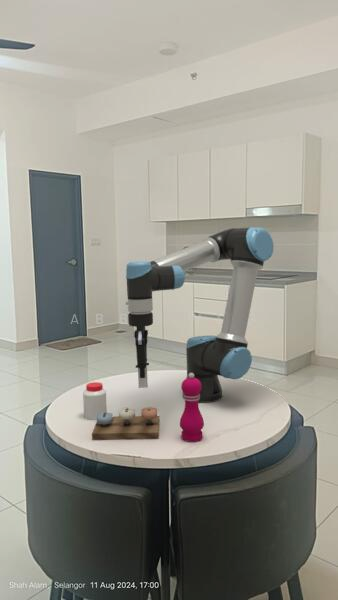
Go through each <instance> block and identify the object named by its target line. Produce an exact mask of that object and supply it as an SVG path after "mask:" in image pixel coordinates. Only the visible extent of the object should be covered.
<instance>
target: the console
mask: <svg viewBox="0 0 338 600" xmlns="http://www.w3.org/2000/svg"><path fill="white" fill-rule="evenodd" d="M91 432H92V433H91V440H92V441H115V440H117V441H118V440H122V441H123V440H124V441H125V440H160V439H159V438H160V415H157V417H156V418H154V419H152V423H151V424H148V423H147V419H144V418H142V417H141V415H135V417H134V418H132V419H129V424H125V420H124V419H120V418H119V416H113V422H112V423H109V424H107V426H103V424H98V423H97V421H96V422H95V425H94V428H93V430H92V431H91Z"/></svg>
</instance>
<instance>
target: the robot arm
mask: <svg viewBox="0 0 338 600" xmlns="http://www.w3.org/2000/svg"><path fill="white" fill-rule="evenodd" d="M273 252H274V240H273V237H271V233H270V232H269V231H268V230H266V229H265V228H263V227H255V226H251V227H240V228H239V227H237V228H235V227H234V228H229V229H225V230H222V231H220V232H217V233H215V234H212V235H209V236H207V237H205V238H203V240H202V241H201V242H199V243H195V244H194V245H190V246H188V247H185V248H183V249H180V250H178V251H175V252H173V253H170V254H167V255H164V256H162V257H160V258H159V257H158V258H156V259H154V260H151V261H147V260H146V261H144V260H143V261H129V262H128V263H127V264H126V270H125V271H126V273H125V274H126V275H125V279H126V294H127V301H126V302H125V305H127V311H128V312H129V313H128V314H127V319H128V320H127V321H128V325H129V326H130V327H135V328H136V329H135V330H134V332H133V333H134V334H133V335H134V336H133V337H134V338H135V343H134V344H135V348H136V349H135V350H136V361H137V363H136V364H135V369H136V368H137V379H138V380H137V381H138V388H139V389H142V388H143V389H147V388H148V387H149V386H148V385H149V384H148V366H149V365H150V362H148V355H147V354H148V353H147V352H148V350H147V349H148V348H147V345H148V335H149V330H148V329H146V327H149V326H152V325H153V324H154V315H153V312H152V311H153V310H154V308H153V306H154V305H153V303H154V302H153V292H159V291H169V290H170V291H174V290H176V289H177V290H178V289H180V288H182V287H183V286H184V284H185V272H186V271H189V270H191V269H194V268H197V267H199V266H201V265H205V264H206V263H208V262H209V263H216V262H218V261H222V260H223V261H224V260H225V261H226V260H230V264H231V265H232V267H233V269H232V275H231V280H230V285H229V290H228V294H227V300H226V305H225V309H224V310H225V311H224V316H223V319H222V320H223V321H222V324H221V325H222V326H221V329H220V332H219V334H217V335H198V336H192V337H189V338H188V339H187V341H186V348H185V350H186V351H185V353H186V378H189V377H188V375H189V373H193V374H194V378H196V379H198V380H199V381H200V382H201V385H202V388H201V391H200V392H199V394H200V399H199V401H198V403H211V402H216V401H219V400H221V399H222V398H223V388H222V386H221V383H220V380H219V376H220V377H223V378H224V379H230V380H239V379H241V378H242V377H244V376H245V375H247V373H248V372H249V370H250V368H251V365H252V362H253V358H252V355H251V354H252V353H251V351H250V350H249V349H248V345H249V342H248V340H247V339H246V333H247V327H248V322H249V317H250V314H251V313H250V312H251V307H252V302H253V296H254V292H255V286H256V282H257V277H258V272H259V271H260V270H262V269H263V267H264V264H265V263H264V262H266V261H269V259H270V258H271V257H272V256H273ZM183 394H184V392H183V391H182V397H184V396H183Z"/></svg>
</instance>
